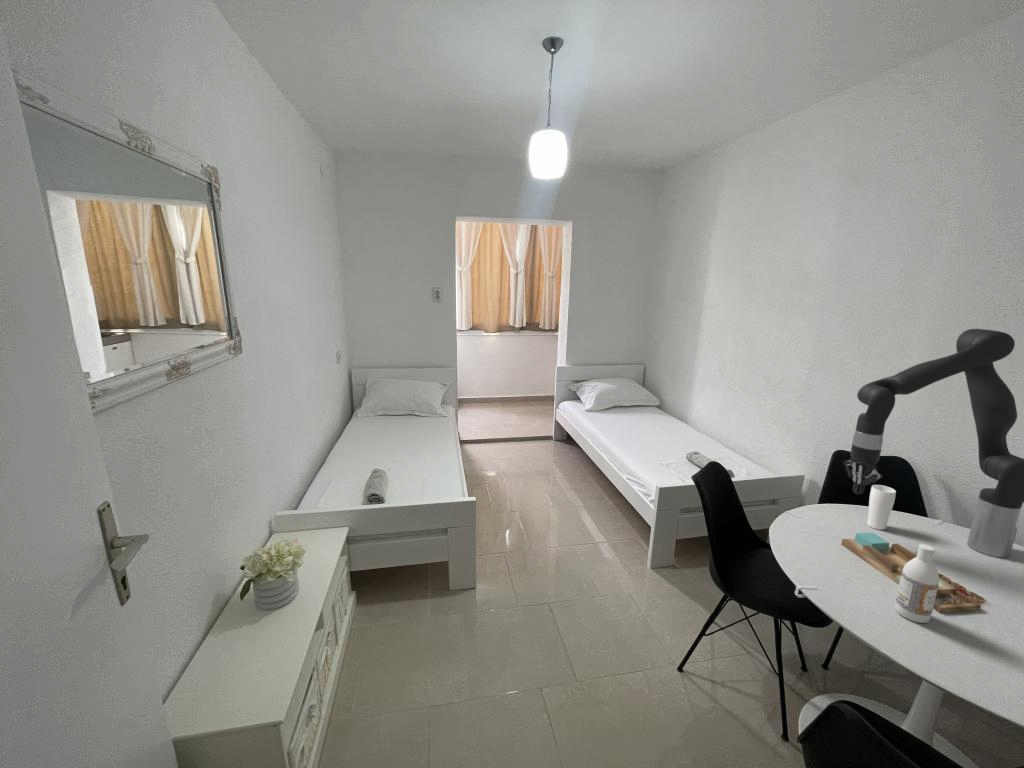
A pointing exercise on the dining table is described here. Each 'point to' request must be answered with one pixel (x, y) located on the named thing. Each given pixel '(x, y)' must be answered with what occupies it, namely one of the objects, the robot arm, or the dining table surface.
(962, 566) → the dining table surface
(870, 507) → the drinking glass
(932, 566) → the bath foam
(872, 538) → the block
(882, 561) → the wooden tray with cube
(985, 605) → the dining table surface
